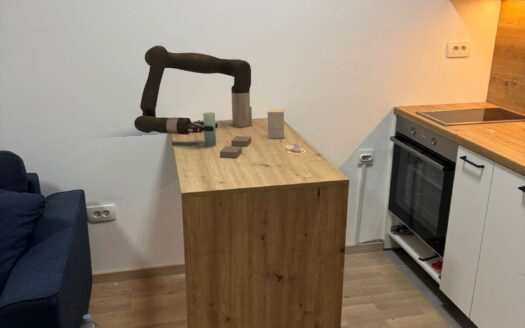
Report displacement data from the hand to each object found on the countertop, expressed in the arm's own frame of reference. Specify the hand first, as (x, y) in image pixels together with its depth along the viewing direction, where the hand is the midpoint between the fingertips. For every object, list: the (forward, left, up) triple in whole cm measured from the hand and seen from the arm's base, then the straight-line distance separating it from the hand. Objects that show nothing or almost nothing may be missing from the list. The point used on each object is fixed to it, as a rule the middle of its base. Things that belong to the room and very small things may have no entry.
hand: (215, 127), depth 212 cm
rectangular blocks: (-4, +11, -8) cm, 14 cm away
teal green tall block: (+2, -2, -8) cm, 8 cm away
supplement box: (-30, +3, -8) cm, 31 cm away
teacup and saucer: (-25, +26, -9) cm, 38 cm away
